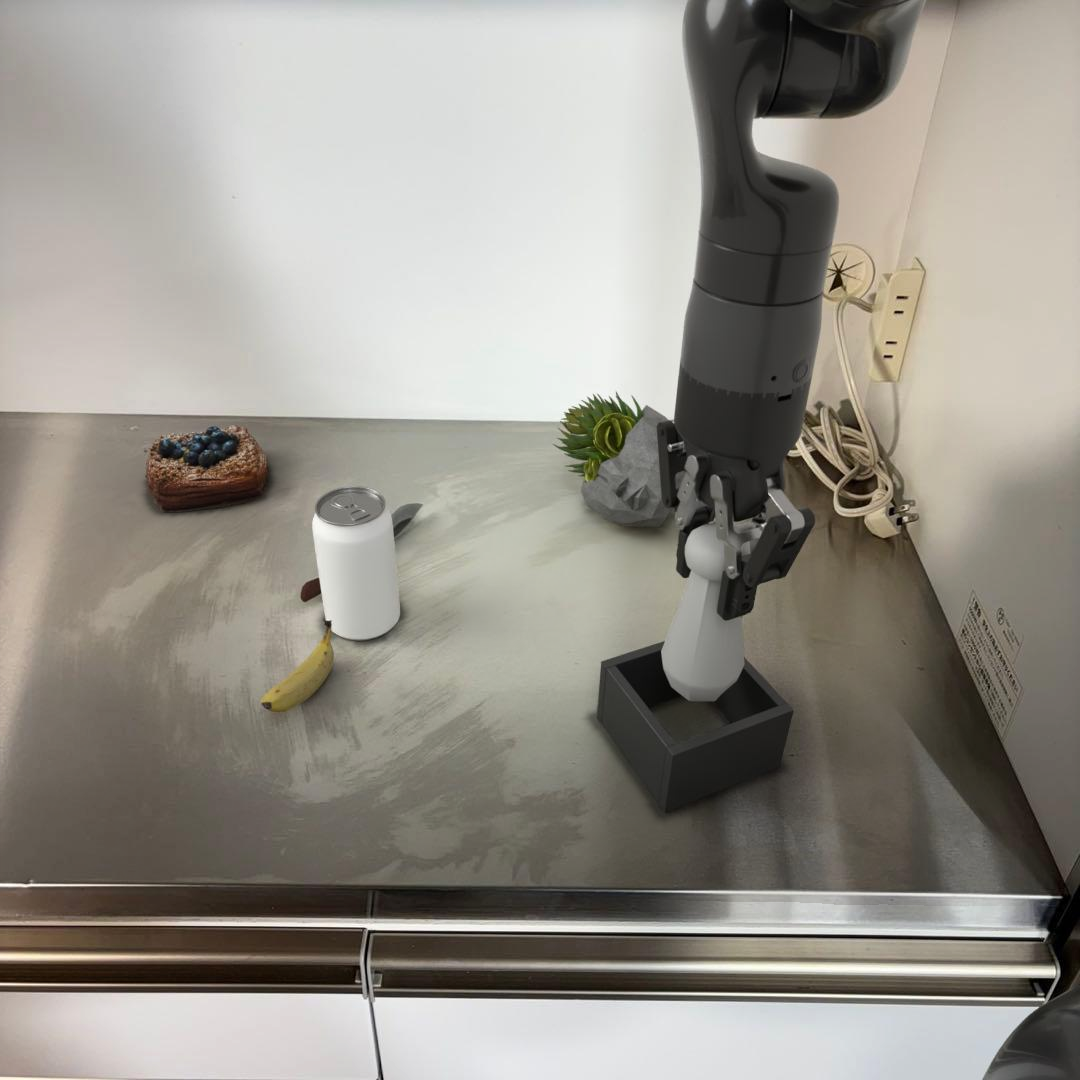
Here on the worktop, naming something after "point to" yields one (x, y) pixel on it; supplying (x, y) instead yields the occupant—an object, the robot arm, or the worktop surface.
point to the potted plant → (618, 460)
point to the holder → (701, 759)
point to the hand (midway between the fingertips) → (711, 592)
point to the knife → (399, 522)
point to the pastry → (206, 469)
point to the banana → (302, 678)
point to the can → (356, 562)
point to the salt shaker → (703, 625)
